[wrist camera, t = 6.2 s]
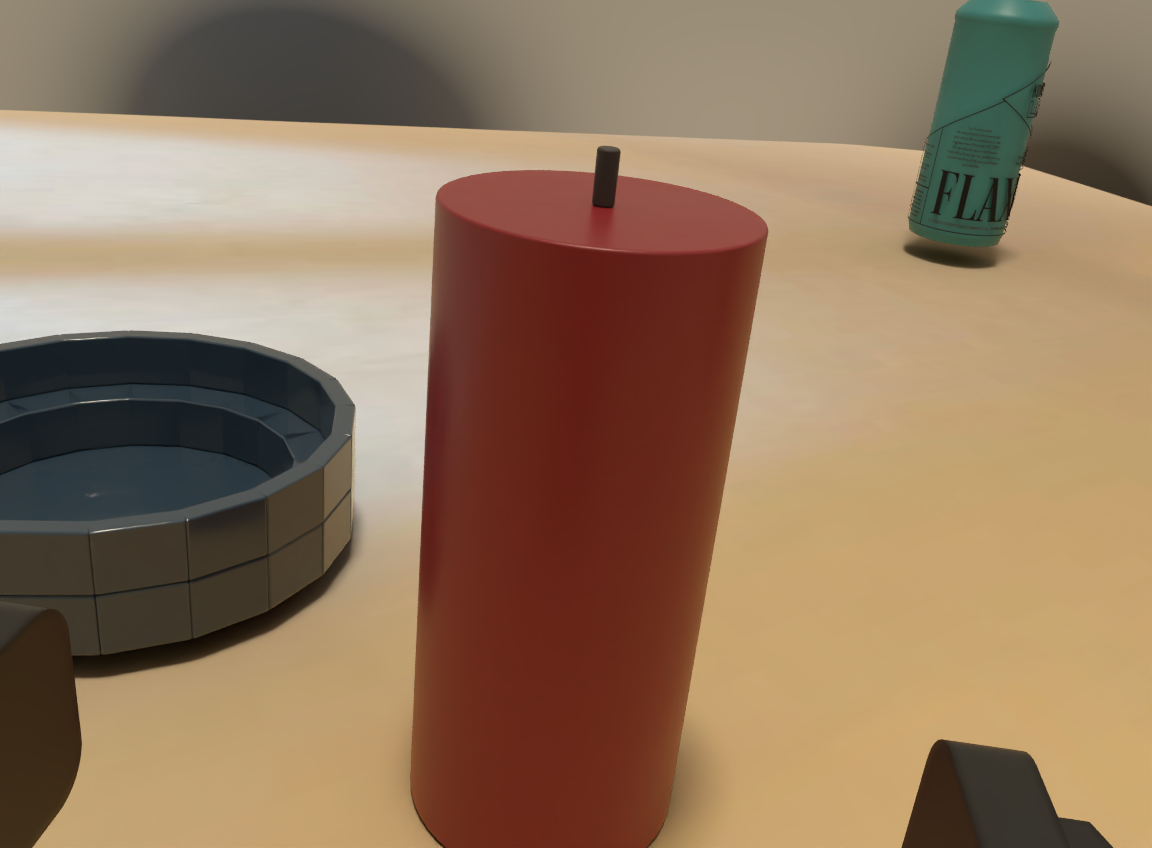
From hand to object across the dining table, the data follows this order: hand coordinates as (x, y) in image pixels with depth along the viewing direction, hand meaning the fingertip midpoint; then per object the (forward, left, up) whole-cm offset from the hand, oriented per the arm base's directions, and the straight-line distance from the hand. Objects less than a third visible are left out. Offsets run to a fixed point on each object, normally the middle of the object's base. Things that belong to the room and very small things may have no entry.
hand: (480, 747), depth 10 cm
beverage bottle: (-27, +64, -10) cm, 71 cm away
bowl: (-22, +5, -10) cm, 25 cm away
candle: (-7, +8, -10) cm, 15 cm away
